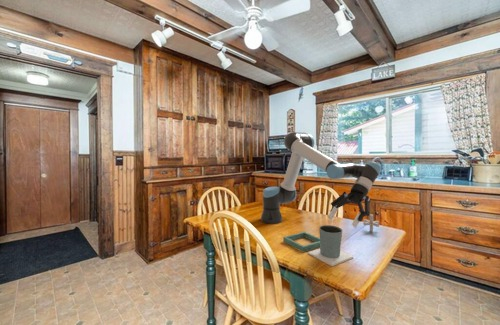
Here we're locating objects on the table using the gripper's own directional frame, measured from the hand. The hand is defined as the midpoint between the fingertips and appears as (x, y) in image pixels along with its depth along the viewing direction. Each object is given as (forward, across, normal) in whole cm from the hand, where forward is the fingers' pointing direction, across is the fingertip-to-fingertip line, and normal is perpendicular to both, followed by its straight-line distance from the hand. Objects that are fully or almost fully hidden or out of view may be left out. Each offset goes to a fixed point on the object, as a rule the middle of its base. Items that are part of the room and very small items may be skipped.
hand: (341, 222), depth 107 cm
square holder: (+16, +17, -5) cm, 24 cm away
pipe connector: (-17, +10, -39) cm, 44 cm away
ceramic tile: (+16, 0, -5) cm, 16 cm away
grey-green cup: (+15, 0, -5) cm, 16 cm away
